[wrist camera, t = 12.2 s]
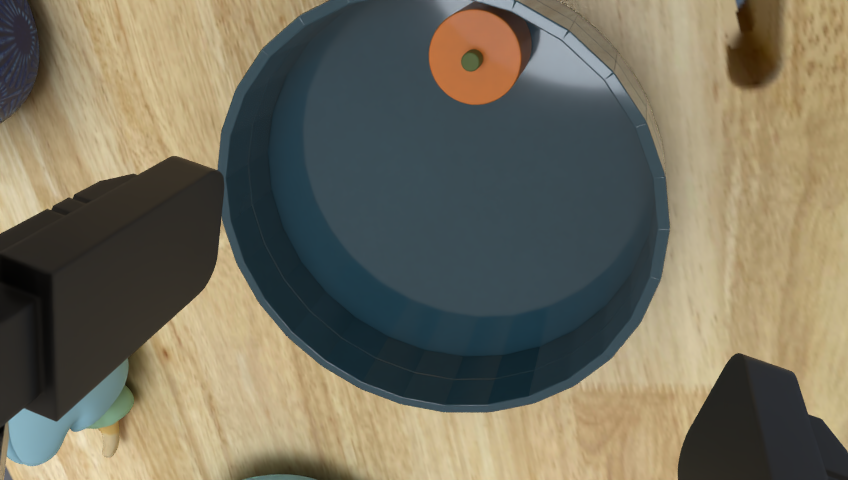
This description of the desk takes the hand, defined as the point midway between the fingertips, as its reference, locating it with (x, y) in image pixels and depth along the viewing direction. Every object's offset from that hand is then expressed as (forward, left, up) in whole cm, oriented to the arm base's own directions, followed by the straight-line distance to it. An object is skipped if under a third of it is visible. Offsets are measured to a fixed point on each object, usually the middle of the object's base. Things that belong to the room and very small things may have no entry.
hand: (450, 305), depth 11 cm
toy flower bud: (+38, -8, -25) cm, 46 cm away
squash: (+3, -3, -24) cm, 24 cm away
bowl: (+10, +1, -24) cm, 26 cm away
